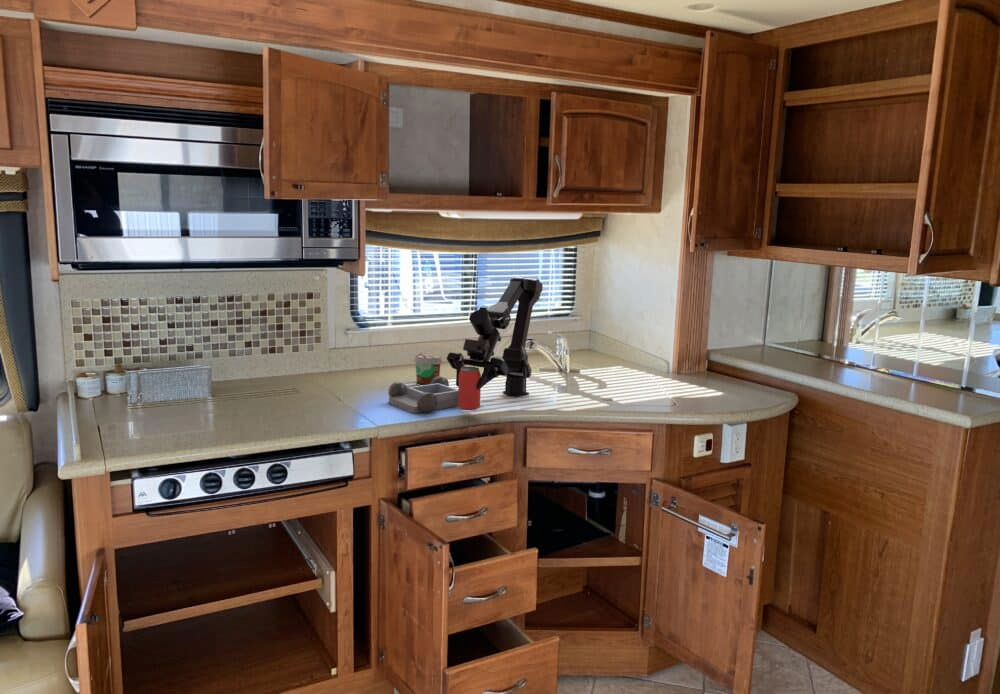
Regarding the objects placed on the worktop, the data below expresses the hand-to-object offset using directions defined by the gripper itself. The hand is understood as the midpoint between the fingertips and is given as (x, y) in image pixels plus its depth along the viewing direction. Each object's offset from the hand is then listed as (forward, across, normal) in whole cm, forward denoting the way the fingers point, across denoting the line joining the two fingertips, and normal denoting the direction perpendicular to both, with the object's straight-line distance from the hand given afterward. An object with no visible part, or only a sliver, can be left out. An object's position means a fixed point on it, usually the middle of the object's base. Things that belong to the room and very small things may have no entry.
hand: (467, 387), depth 231 cm
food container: (-13, -33, +27) cm, 45 cm away
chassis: (+1, -17, +12) cm, 21 cm away
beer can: (+4, 0, +6) cm, 7 cm away
